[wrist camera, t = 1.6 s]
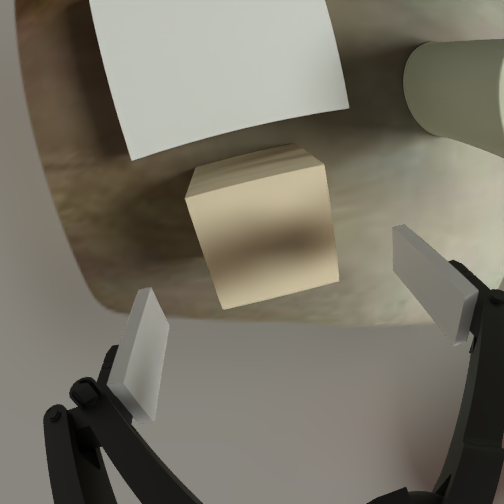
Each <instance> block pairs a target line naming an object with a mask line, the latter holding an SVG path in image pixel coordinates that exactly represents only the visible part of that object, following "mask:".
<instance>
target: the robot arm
mask: <svg viewBox="0 0 504 504" xmlns="http://www.w3.org/2000/svg"><path fill="white" fill-rule="evenodd" d="M393 271H394V272H395V273H396V274H397V276H398V277H399V278H400V279H401V280H402V282H403V283H404V284H405V285H406V286H407V288H408V289H409V290H410V291H411V292H412V294H413V295H414V296H415V297H416V299H417V300H418V301H419V302H420V303H421V305H422V306H423V307H424V308H425V310H426V311H427V312H428V314H429V315H430V316H431V317H432V319H433V320H434V321H435V322H436V324H437V325H438V326H439V328H440V329H441V330H442V332H443V333H444V334H445V335H446V337H447V338H448V339H449V341H450V342H451V344H452V345H453V346H456V345H458V344H460V343H462V342H464V341H467V338H468V335H469V331H471V333H472V334H473V335H474V338H473V342H472V345H471V348H470V351H469V353H471V356H470V362H469V368H468V374H467V379H466V384H465V390H464V394H463V399H462V403H461V408H460V411H459V415H458V419H457V423H456V427H455V431H454V434H453V438H452V441H451V444H450V448H449V451H448V454H447V457H446V460H445V463H444V466H443V469H442V471H441V474H440V476H439V478H438V480H437V482H436V484H435V486H434V488H433V491H432V492H426V491H411V492H408V491H407V488H406V487H404V488H402V489H399V490H397V491H394V492H391V493H389V494H386V495H383V496H380V497H377V498H376V499H374V500H372V501H370V502H369V503H367V504H492V503H493V500H494V496H495V493H496V489H497V486H498V482H499V478H500V474H501V469H502V465H503V461H504V449H503V448H502V446H501V445H502V439H503V433H504V291H501V290H498V289H492V290H490V289H489V288H488V287H487V286H486V285H485V284H484V283H483V282H482V281H481V280H479V279H478V278H477V277H476V276H475V275H473V273H472V272H471V271H469V270H468V269H467V268H466V267H465V266H464V265H463V264H461V263H459V262H457V261H455V260H451V261H447V260H446V259H445V258H443V257H442V256H441V255H440V254H439V253H438V252H437V251H436V250H434V249H433V248H432V247H431V246H430V245H429V244H427V243H426V242H425V241H424V240H423V239H422V238H420V237H419V236H418V235H417V234H416V233H415V232H413V231H412V230H411V229H410V228H408V227H407V226H406V225H405V224H403V225H399V226H395V227H393ZM169 327H170V326H169V324H168V322H167V320H166V318H165V316H164V314H163V311H162V309H161V307H160V305H159V303H158V301H157V299H156V296H155V294H154V292H153V290H152V288H151V287H149V288H144V289H140V290H138V292H137V295H136V298H135V301H134V303H133V306H132V309H131V312H130V314H129V317H128V320H127V323H126V326H125V329H124V332H123V335H122V338H121V341H120V344H119V345H114V346H112V347H111V348H110V350H109V351H108V352H107V353H106V356H105V359H104V363H103V365H102V368H101V369H102V370H101V371H100V374H99V377H98V380H97V383H96V381H95V380H94V379H93V378H91V377H85V378H81V379H80V380H78V381H76V382H75V383H74V384H73V386H72V387H71V389H70V392H69V394H70V398H71V399H72V400H73V401H74V403H75V404H76V405H77V406H78V407H76V408H73V409H70V410H67V409H66V408H65V407H64V406H63V405H60V404H57V405H53V406H52V407H50V408H49V409H48V410H47V411H46V413H45V415H44V419H43V422H44V423H43V424H44V436H45V446H46V455H47V463H48V470H49V476H50V483H51V488H52V494H53V499H54V504H117V501H116V499H115V496H114V493H113V490H112V487H111V484H110V481H109V478H108V474H107V471H106V468H105V465H104V461H103V458H102V454H101V452H100V447H103V449H104V450H105V452H106V453H107V455H108V456H109V458H110V460H111V461H112V462H113V464H114V466H115V467H116V469H117V470H118V471H119V473H120V474H121V476H122V477H123V479H124V480H125V481H126V483H127V484H128V486H129V487H130V488H131V490H132V491H133V492H134V494H135V495H136V496H137V498H138V499H139V500H140V502H141V503H142V504H203V503H202V502H201V501H200V500H199V499H198V498H197V497H196V496H195V495H194V494H193V493H192V492H191V491H190V490H189V489H188V488H187V487H186V486H185V485H184V484H183V483H182V482H181V481H180V480H179V479H178V478H177V477H176V476H175V475H174V474H173V473H172V471H171V470H170V469H169V468H168V467H167V466H166V465H165V464H164V463H163V461H161V459H160V458H159V457H158V456H157V455H156V453H155V452H154V451H153V450H152V449H151V448H150V446H149V445H148V444H147V443H146V442H145V440H144V439H143V438H142V437H141V436H140V434H139V433H138V432H137V431H136V429H135V428H134V427H133V426H132V425H131V423H132V417H133V418H134V419H135V420H136V421H137V422H138V424H147V423H154V422H155V415H156V407H157V400H158V393H159V386H160V380H161V374H162V367H163V361H164V355H165V350H166V344H167V338H168V332H169Z"/></svg>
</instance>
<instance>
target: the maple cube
mask: <svg viewBox="0 0 504 504" xmlns="http://www.w3.org/2000/svg"><path fill="white" fill-rule="evenodd" d="M185 200H186V203H187V207H188V210H189V213H190V216H191V219H192V222H193V225H194V228H195V231H196V234H197V237H198V240H199V243H200V246H201V249H202V252H203V255H204V258H205V260H206V263H207V266H208V269H209V272H210V275H211V278H212V281H213V283H214V286H215V289H216V292H217V295H218V297H219V300H220V303H221V306H222V308H223V310H224V309H228V308H233V307H237V306H241V305H246V304H250V303H254V302H258V301H263V300H267V299H271V298H275V297H279V296H283V295H287V294H291V293H295V292H299V291H303V290H307V289H311V288H315V287H319V286H322V285H326V284H330V283H334V282H337V281H339V273H338V263H337V254H336V245H335V237H334V229H333V221H332V213H331V206H330V199H329V192H328V185H327V179H326V172H325V166H324V164H323V163H322V162H320V161H319V160H318V159H316V158H315V157H313V156H312V155H311V154H309V153H308V152H307V151H305V150H304V149H302V148H301V147H300V146H298V145H297V144H295V143H292V144H288V145H283V146H278V147H274V148H269V149H265V150H261V151H256V152H252V153H248V154H244V155H240V156H236V157H232V158H228V159H224V160H220V161H216V162H212V163H209V164H205V165H201V166H198V167H196V168H195V171H194V173H193V176H192V179H191V182H190V185H189V188H188V190H187V193H186V196H185Z"/></svg>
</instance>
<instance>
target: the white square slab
mask: <svg viewBox="0 0 504 504" xmlns="http://www.w3.org/2000/svg"><path fill="white" fill-rule="evenodd" d="M89 2H90V7H91V12H92V17H93V21H94V26H95V31H96V35H97V39H98V44H99V48H100V52H101V56H102V60H103V64H104V68H105V72H106V76H107V79H108V83H109V87H110V90H111V94H112V98H113V101H114V105H115V108H116V112H117V115H118V118H119V122H120V125H121V128H122V132H123V135H124V138H125V141H126V144H127V148H128V151H129V154H130V157H131V160H132V161H133V160H136V159H139V158H142V157H145V156H148V155H151V154H154V153H157V152H160V151H163V150H167V149H170V148H173V147H176V146H180V145H183V144H187V143H190V142H194V141H197V140H201V139H204V138H208V137H212V136H215V135H219V134H223V133H227V132H231V131H235V130H239V129H243V128H248V127H252V126H256V125H261V124H265V123H270V122H275V121H279V120H284V119H289V118H294V117H300V116H305V115H311V114H316V113H322V112H328V111H335V110H341V109H348V108H349V103H348V98H347V92H346V87H345V82H344V77H343V72H342V67H341V63H340V58H339V54H338V49H337V45H336V41H335V37H334V33H333V29H332V25H331V21H330V17H329V14H328V10H327V6H326V3H325V0H89Z"/></svg>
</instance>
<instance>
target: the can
mask: <svg viewBox="0 0 504 504" xmlns="http://www.w3.org/2000/svg"><path fill="white" fill-rule="evenodd" d="M403 89H404V95H405V99H406V102H407V105H408V108H409V110H410V112H411V114H412V115H413V117H414V118H415V120H416V121H417V122H418V124H419V125H420V126H421V127H422V128H424V129H425V130H426V131H427V132H429V133H431V134H433V135H435V136H438V137H444V138H450V139H454V140H457V141H460V142H463V143H466V144H469V145H472V146H474V147H477V148H480V149H483V150H485V151H488V152H490V153H493V154H495V155H498V156H500V157H502V158H504V39H492V40H470V41H454V42H428V43H425V44H422V45H420V46H419V47H417V48H416V49H415V50H414V51H413V52H412V53H411V55H410V56H409V58H408V60H407V63H406V65H405V69H404V75H403Z"/></svg>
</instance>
